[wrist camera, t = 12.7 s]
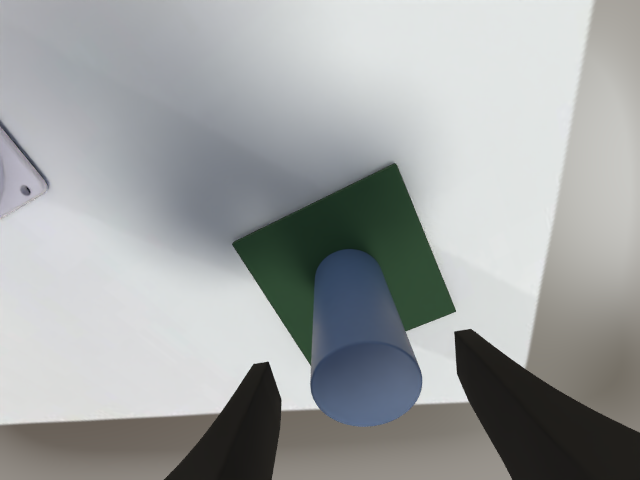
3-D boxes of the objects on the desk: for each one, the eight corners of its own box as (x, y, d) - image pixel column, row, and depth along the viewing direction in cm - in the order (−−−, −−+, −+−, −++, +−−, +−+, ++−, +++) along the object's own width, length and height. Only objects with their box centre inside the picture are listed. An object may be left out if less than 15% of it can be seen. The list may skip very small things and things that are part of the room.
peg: (322, 313, 20) (322, 434, 12) (308, 255, 18) (299, 352, 11) (386, 302, 19) (427, 419, 12) (377, 242, 18) (417, 333, 10)
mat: (312, 364, 22) (312, 368, 21) (233, 241, 18) (231, 244, 18) (453, 308, 20) (456, 311, 20) (394, 162, 17) (396, 163, 16)
